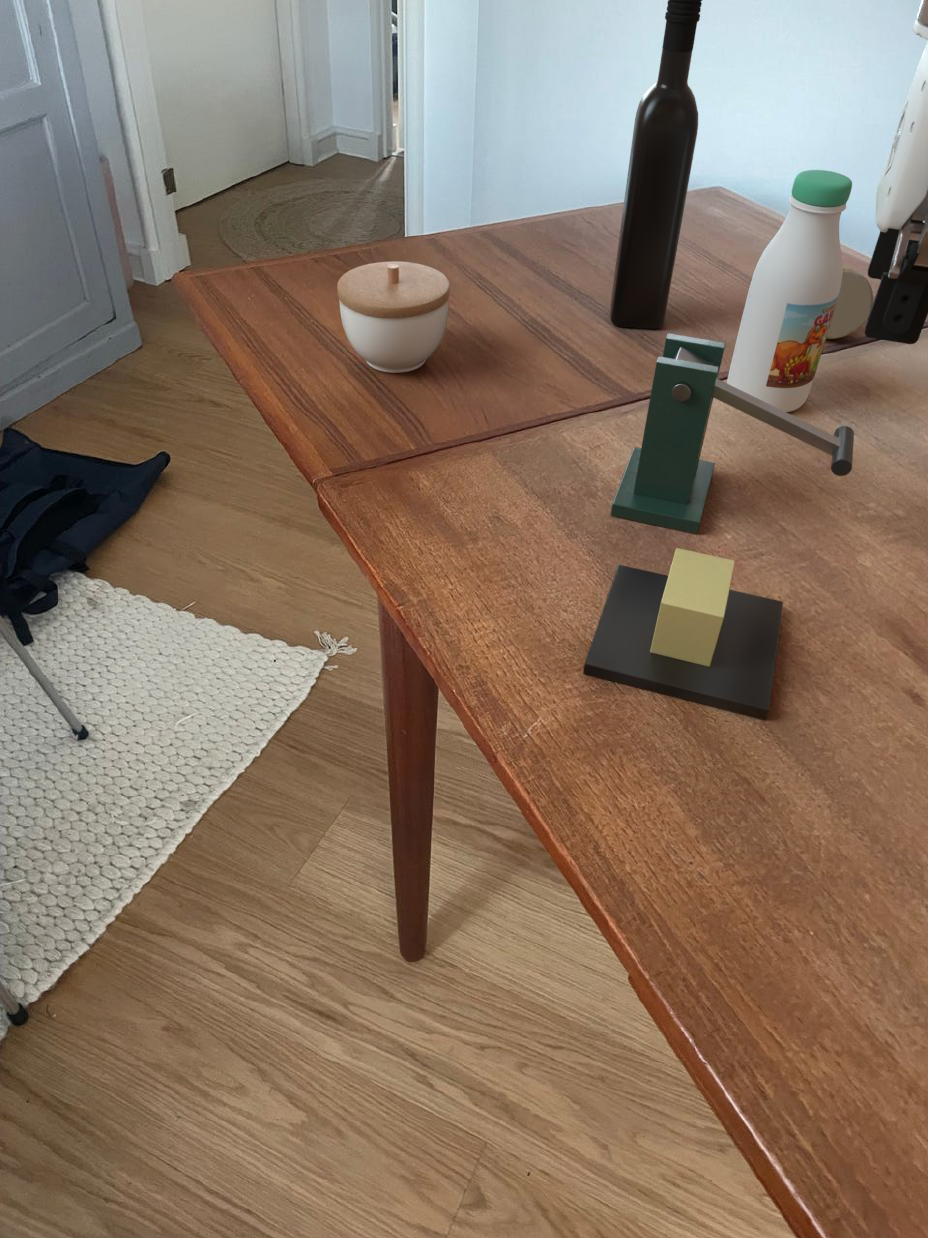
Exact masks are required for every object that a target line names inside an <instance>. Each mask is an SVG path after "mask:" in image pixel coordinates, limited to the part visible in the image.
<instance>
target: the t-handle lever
mask: <svg viewBox="0 0 928 1238" xmlns="http://www.w3.org/2000/svg"><path fill="white" fill-rule="evenodd" d="M674 359H677V360H682V361H688V362H694V363H700V364H706V365H711V366H713V363H712V362H710V361H708V360H706V359H704V358H702V357H700V356H698V355H696V354H694V353H692V352H690V351H688V350H686V349H684V348H682V347H680V348H679V350H678V352H677V354H676V356H675V357H674ZM712 397H713V399H715V400H717V401H720V402H722V403H724V404H726V405H728V406H730V407H731V408H734V409H736V410H737V411H740V412H742V413H743V414H746V415H748V416H750V417H752V418H754V419H756V420H757V421H760V422H763V423H764V424H766V425H769V426H771V427H772V428H774V429H777V430H778V431H781V432H783V433H785V434H787V435H788V436H791V437H793V438H795V439H798V440H799V441H801V442H803V443H805V444H807V445H809V446H811V447H814V448H815V449H818V450H819V451H821V452H823V453H826V454H827V455H830V456H831V462H830V470H831V473H832V474H833V475H834V476H838V477H845V476H847V475H849V474H850V473H851V472H852V470H853V458H854V441H855V440H854V439H855V432H854V430H853V428H852V427H850V426H848V425H841V426H839V427H838V428H836V429H835V430H834V431H833V434H831V433H829V432H827V431H826V430H823V429H821V428H819V427H817V426H814V425H813V424H811V423H808V422H807V421H805V420H803V419H800V418H799V417H797V416H795V415H792V414H791V413H789V412H784V411H782V410H780V409H778V408H776V407H774V406H772V405H770V404H768V403H766V402H764V401H762V400H760V399H758V398H756V397H754V396H752V395H750V394H748V393H745V392H743V391H741V390H739V389H737V388H735V387H733V386H731V385H729V384H727V382H725V381H723V380H721V379H719V378H718V379H717V378H716V383H715V387H714V392H713V396H712Z"/></svg>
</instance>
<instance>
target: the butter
mask: <svg viewBox="0 0 928 1238" xmlns="http://www.w3.org/2000/svg"><path fill="white" fill-rule="evenodd" d="M735 564H736V561H735V560H733V559H729V558H725V557H719V556H715V555H710V554H706V553H701V552H697V551H693V550H688V549H683V548H678V547H676V548H675V550H674V554H673V558H672V562H671V565H670V567H669V572H668V575H667V576H668V579H667V583H666V586H665V590H664V594H663V597H662V601H661V605H660V609H659V614H658V618H657V623H656V627H655V632H654V636H653V641H652V645H651V650H650V652H651V653H655V654H659V655H663V656H668V657H672V658H676V659H680V660H684V661H688V662H692V663H696V664H700V665H704V666H708V667H709V666H710V664H711V661H712V657H713V654H714V651H715V647H716V644H717V640H718V637H719V633H720V630H721V626H722V623H723V619H724V615H725V610H726V605H727V600H728V595H729V590H731V586H732V579H733V575H734V570H735Z"/></svg>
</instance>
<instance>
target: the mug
mask: <svg viewBox="0 0 928 1238" xmlns="http://www.w3.org/2000/svg"><path fill="white" fill-rule="evenodd" d="M874 299H875V297H874V291H873V289H872V286H871V284H870V282H869V280H868V278H867V277H866V276H864V274H863V273H861V272H859V271H858V270H855V269H853V268H851V267H845V266H843V274H842V282H841V288H840V292H839V295H838V299H837V303H836V307H835V310H834V314H833V317H832V320H831V324H830V327H829V330H828V334H827V337H826V340H835V339H840V338H841V339H842V338H844V337H846V336H849V335H851V334H853V333H854V332H855V331H857V330H858V329H859V328H861V326H862V325H864V324H865V322H867V320H868V317H869V314H870V311H871V308H872V305H873V302H874Z"/></svg>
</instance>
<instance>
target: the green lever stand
mask: <svg viewBox="0 0 928 1238" xmlns="http://www.w3.org/2000/svg"><path fill="white" fill-rule="evenodd" d="M726 344H727V343H726V342H723V341H716V340H710V339H704V338H698V337H692V336H687V335H681V334H675V333H667V335H666V338H665V340H664V347H663V352H662V356H658V357H657V360H656V363H655V369H654V374H653V380H652V385H651V390H650V395H649V396H650V397H649V402H648V407H647V413H646V420H645V425H644V429H643V430H644V431H643V435H642V443H641V447H637V446H634V447H633V448H632V452H631V454H630V457H629V459H628V462H627V464H626V467H625V469H624V472H623V475H622V478H621V480H620V483H619V486H618V488H617V490H616V494H615V497H614V499H613V501H612V504H611V510H610V516H611V517H614V518H619V519H624V520H629V521H634V522H638V523H643V524H648V525H653V526H657V527H662V528H666V529H671V530H675V531H681V532H685V533H689V534H694V535H697V534H698V533H699V529H700V525H701V521H702V518H703V517H702V516H703V514H704V513H703V512H704V510H705V505H706V501H707V497H708V493H709V489H710V485H711V481H712V479H713V478H712V477H713V474H714V470H715V465H716V463H715V461H708V460H703V459H700V458H701V454H702V449H703V445H704V442H705V441H704V440H705V436H706V433H707V429H708V423H709V419H710V415H711V410H712V406H713V401H714V398H713V397H712V396H713V392H714V387H715V383H716V378H717V379H719V375H720V371H721V367H722V363H723V358H724V353H725V349H726ZM680 347H682V348H684V349H686V350H688V351H690V352H692V353H694V354H696V355H698V356H700V357H702V358H704V359H706V360H708V361H710V362H712V363H713V366H711V365H706V364H700V363H694V362H688V361H682V360H677V359H674V357H675V356H676V354H677V352H678V350H679V348H680Z"/></svg>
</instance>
